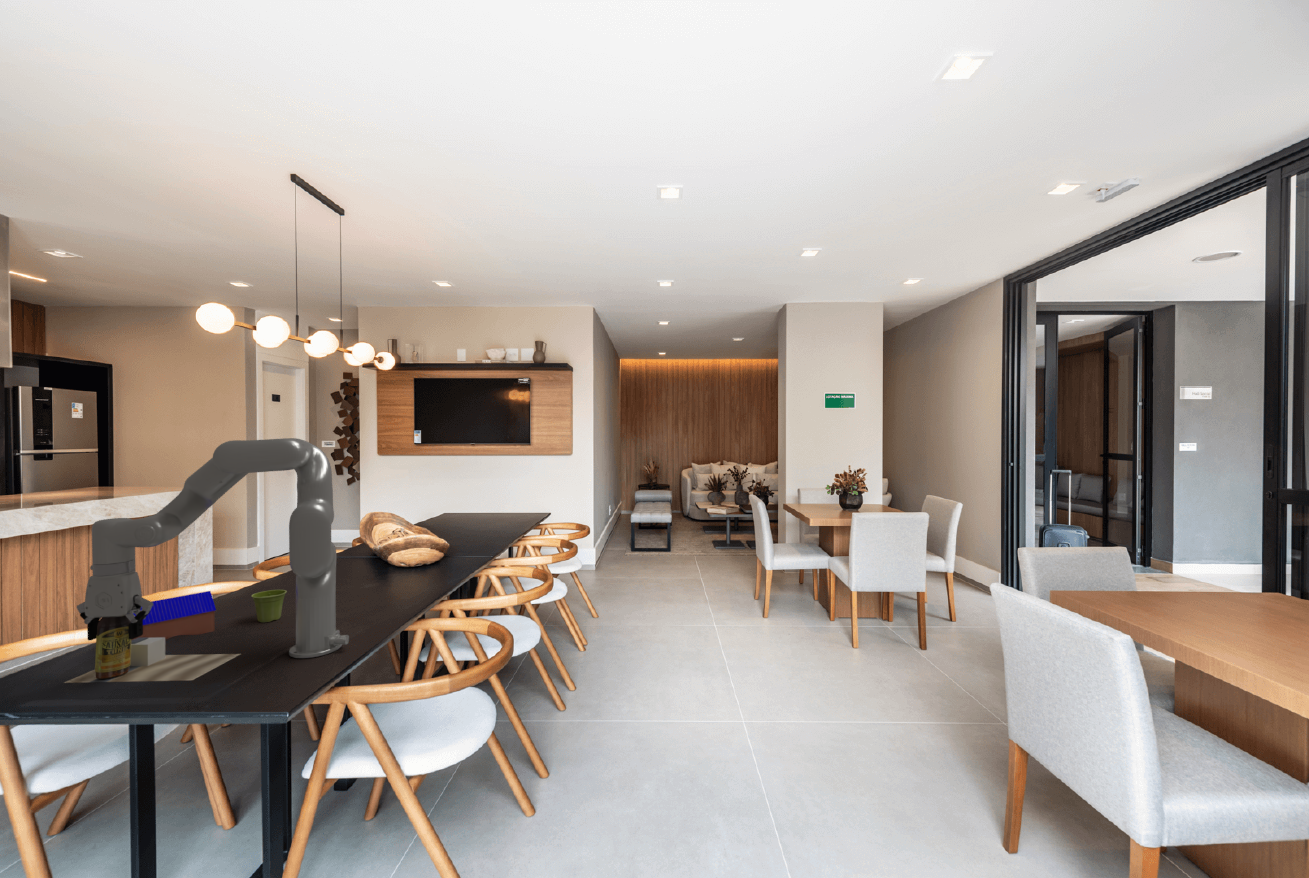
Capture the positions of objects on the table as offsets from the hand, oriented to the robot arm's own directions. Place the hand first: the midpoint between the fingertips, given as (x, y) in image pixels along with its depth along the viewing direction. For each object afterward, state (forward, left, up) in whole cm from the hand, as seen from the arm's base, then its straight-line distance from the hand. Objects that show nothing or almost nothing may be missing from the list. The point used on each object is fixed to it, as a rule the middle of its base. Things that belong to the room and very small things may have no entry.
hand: (115, 637), depth 133 cm
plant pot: (-8, -44, -11) cm, 46 cm away
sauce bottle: (0, 0, -9) cm, 9 cm away
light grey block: (0, -7, -9) cm, 12 cm away
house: (+13, -30, -11) cm, 34 cm away
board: (-7, -4, -10) cm, 13 cm away
